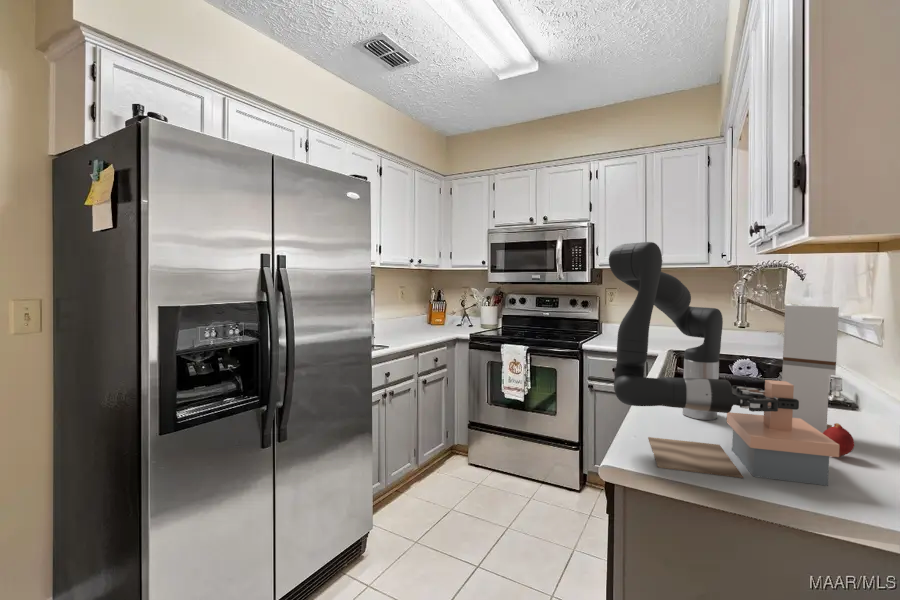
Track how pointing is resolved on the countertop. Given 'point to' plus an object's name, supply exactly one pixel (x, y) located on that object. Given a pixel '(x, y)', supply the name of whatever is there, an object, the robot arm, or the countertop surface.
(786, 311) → the white tall block
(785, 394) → the lid
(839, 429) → the pomegranate
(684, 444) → the board
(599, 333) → the countertop surface
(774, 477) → the storage box
